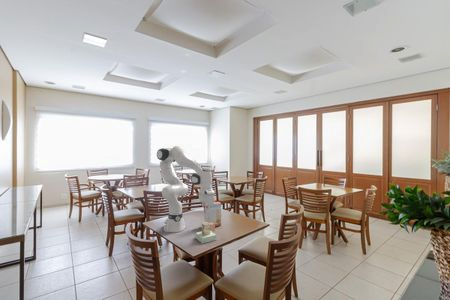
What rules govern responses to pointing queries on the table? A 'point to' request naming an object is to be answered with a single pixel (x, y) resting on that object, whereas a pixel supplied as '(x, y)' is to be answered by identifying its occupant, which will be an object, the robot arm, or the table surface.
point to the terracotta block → (212, 226)
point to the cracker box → (213, 213)
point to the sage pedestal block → (206, 237)
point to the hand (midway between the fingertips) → (205, 208)
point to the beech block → (205, 228)
